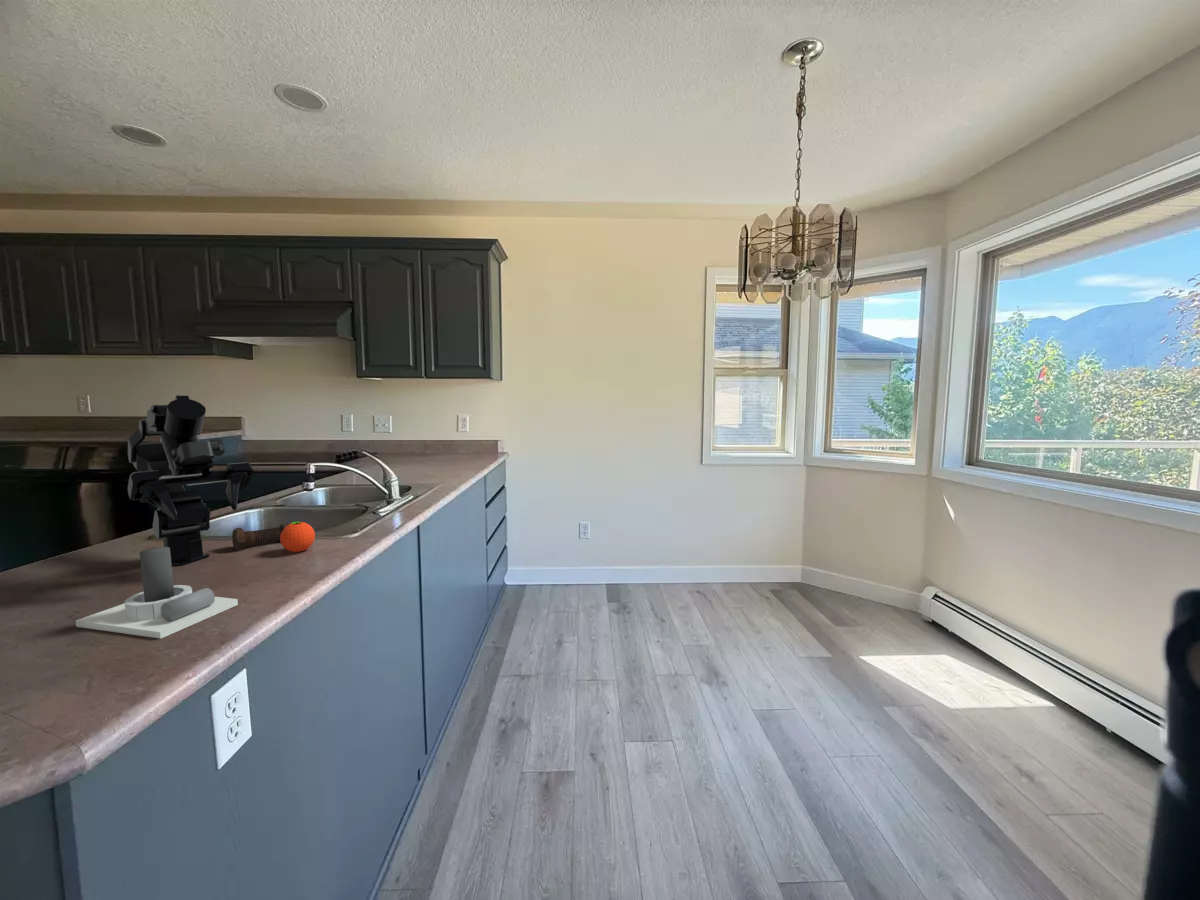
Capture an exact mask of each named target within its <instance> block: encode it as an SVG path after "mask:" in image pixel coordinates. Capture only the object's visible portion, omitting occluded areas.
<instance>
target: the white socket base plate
mask: <svg viewBox="0 0 1200 900" xmlns="http://www.w3.org/2000/svg"><path fill="white" fill-rule="evenodd" d="M173 585H174V584H173ZM238 600H239V599H238V598H230V597H223V596H222V597H221V596H215V593H214V591H213V590H212V589H211V588H209V587H204V588H201V589H199V590H196V591H193V588H192V586H190V585H185V584H176V585H174V596H173V597H171V598H168V599H163V600H159V601H155V602H145V600H144V591H141V592H138V593H136V594H135V593H134V594H131V596H129V597H128V598H126V599H125V600H124V603H122V604H119V605H116V606H112V607H110V608H107V609H105V610H102V611H99V612H96V613H94V614H90V615H88V616H84V617H82V618H78V619H76V620H75V627H76V628H83V629H90V630H98V631H103V632H111V633H119V634H126V635H133V636H140V637H146V638H147V637H148V638H155V639H161V640H162V639H163V638H166V637H167V636H170V635H173V634H174V633H177V632H179V631H181V630H184V629H185V628H188V627H190V626H193V625H196V624H198V623H200V622H202V621H205V620H206V619H208V618H211V617H213V616H215V615H217V614H220V613H222V612H225V611H227V610H229V609H231V608H234V607H236V606H238V605H239V601H238Z"/></svg>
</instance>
